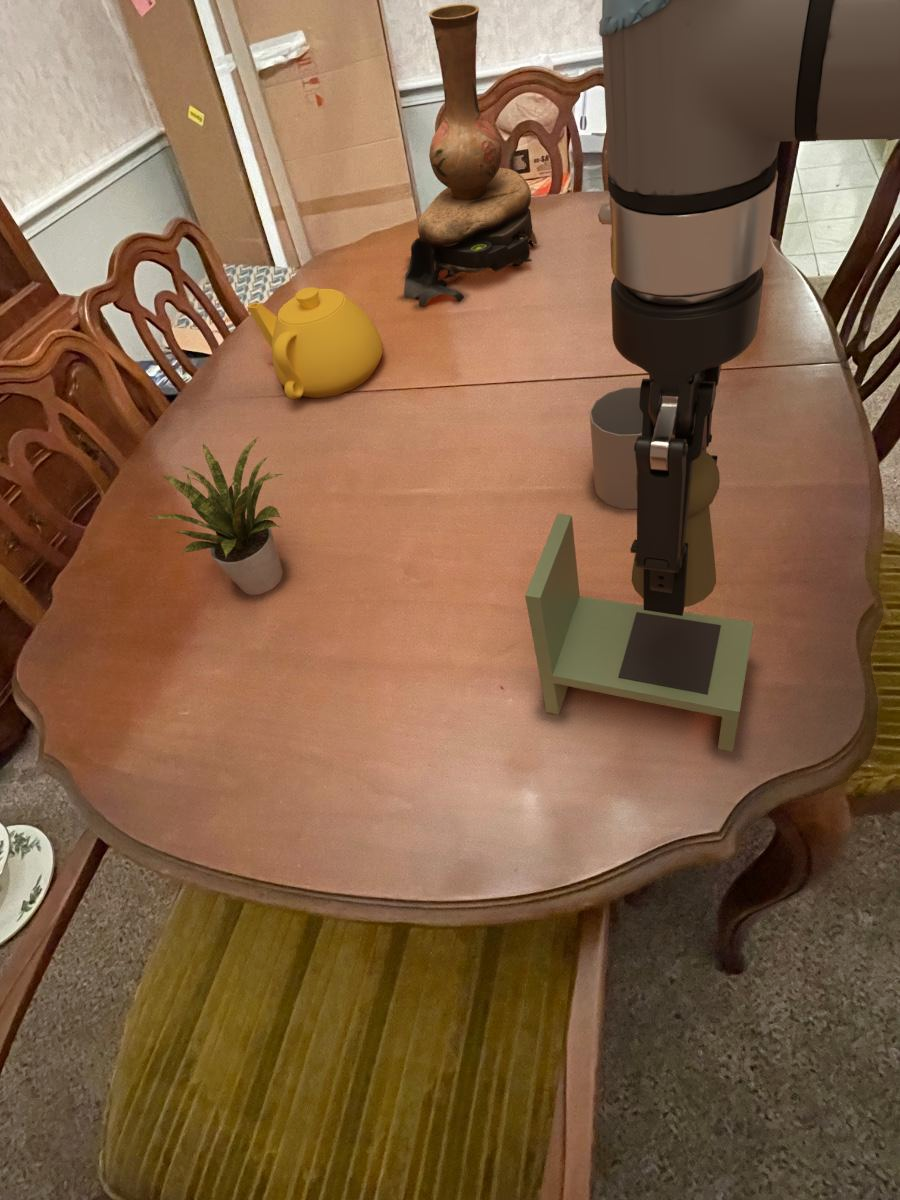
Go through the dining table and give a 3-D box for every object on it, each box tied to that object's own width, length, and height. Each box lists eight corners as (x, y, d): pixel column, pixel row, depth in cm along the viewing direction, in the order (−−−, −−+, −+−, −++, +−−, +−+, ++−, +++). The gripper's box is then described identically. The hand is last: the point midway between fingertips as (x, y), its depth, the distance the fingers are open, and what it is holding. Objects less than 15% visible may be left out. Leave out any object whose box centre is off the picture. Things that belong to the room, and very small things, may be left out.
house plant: (337, 523, 91) (290, 410, 79) (324, 610, 82) (269, 497, 70) (226, 540, 93) (164, 432, 81) (202, 626, 84) (127, 519, 72)
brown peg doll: (626, 552, 58) (623, 436, 50) (708, 543, 57) (718, 424, 49) (636, 612, 54) (634, 497, 46) (724, 603, 53) (738, 485, 45)
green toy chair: (746, 665, 67) (768, 536, 55) (732, 752, 62) (753, 631, 50) (571, 635, 73) (557, 513, 61) (546, 712, 68) (524, 595, 56)
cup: (634, 519, 82) (633, 446, 74) (579, 488, 87) (573, 416, 79) (686, 478, 84) (690, 403, 77) (629, 451, 89) (628, 378, 82)
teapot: (405, 346, 115) (384, 264, 106) (341, 420, 105) (311, 337, 96) (302, 335, 124) (274, 259, 114) (234, 403, 114) (197, 325, 105)
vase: (537, 290, 119) (508, 20, 93) (401, 310, 123) (336, 57, 97) (537, 225, 134) (511, -23, 108) (416, 245, 138) (363, 11, 112)
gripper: (649, 190, 45) (647, 484, 62) (564, 373, 34) (590, 668, 51) (784, 184, 42) (743, 493, 59) (738, 380, 32) (704, 689, 49)
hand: (672, 574), depth 55 cm, fingers closed on brown peg doll, 6 cm apart
